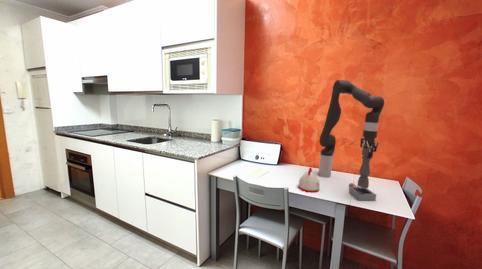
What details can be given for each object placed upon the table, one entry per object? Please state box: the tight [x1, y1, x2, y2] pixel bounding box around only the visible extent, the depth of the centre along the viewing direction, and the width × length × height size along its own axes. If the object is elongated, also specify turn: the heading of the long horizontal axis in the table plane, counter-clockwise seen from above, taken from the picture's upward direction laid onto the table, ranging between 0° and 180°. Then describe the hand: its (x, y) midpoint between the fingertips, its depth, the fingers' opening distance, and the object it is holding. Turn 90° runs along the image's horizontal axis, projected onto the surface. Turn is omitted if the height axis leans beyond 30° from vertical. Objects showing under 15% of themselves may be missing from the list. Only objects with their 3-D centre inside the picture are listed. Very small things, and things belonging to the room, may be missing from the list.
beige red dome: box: [297, 166, 320, 194], centre depth 152 cm, size 14×14×15 cm
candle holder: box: [356, 147, 372, 189], centre depth 139 cm, size 6×6×25 cm
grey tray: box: [348, 182, 377, 202], centre depth 146 cm, size 18×11×5 cm, turn 3°
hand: (366, 156), depth 138 cm, fingers closed on candle holder, 5 cm apart
